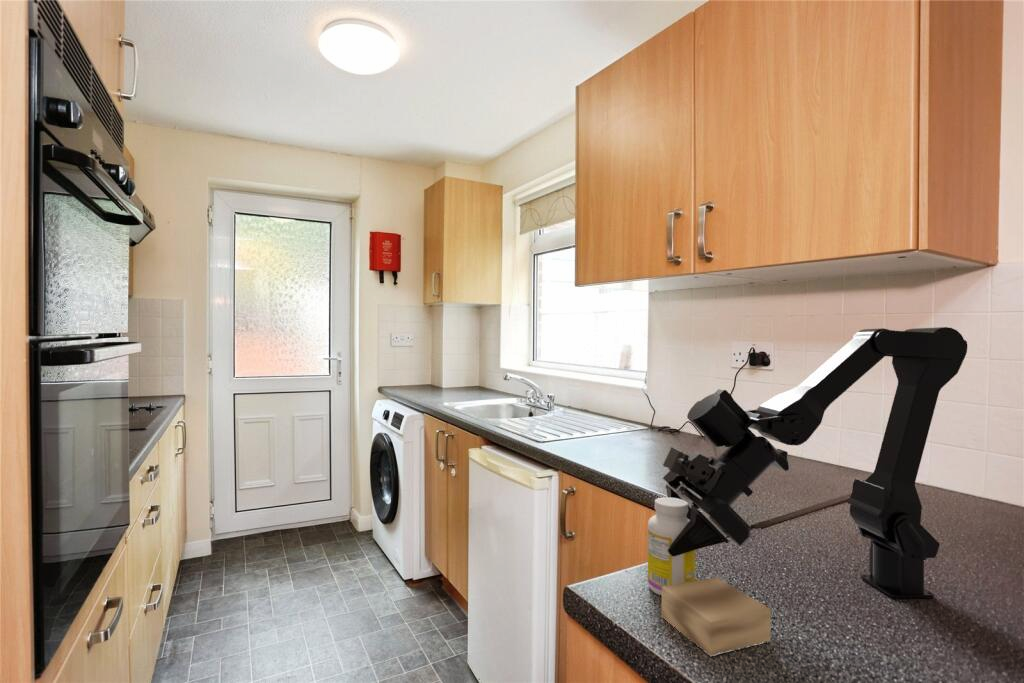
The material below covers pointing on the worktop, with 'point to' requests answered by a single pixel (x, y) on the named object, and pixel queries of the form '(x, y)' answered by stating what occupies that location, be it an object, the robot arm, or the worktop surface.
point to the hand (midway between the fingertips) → (661, 544)
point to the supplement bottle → (668, 545)
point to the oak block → (715, 615)
